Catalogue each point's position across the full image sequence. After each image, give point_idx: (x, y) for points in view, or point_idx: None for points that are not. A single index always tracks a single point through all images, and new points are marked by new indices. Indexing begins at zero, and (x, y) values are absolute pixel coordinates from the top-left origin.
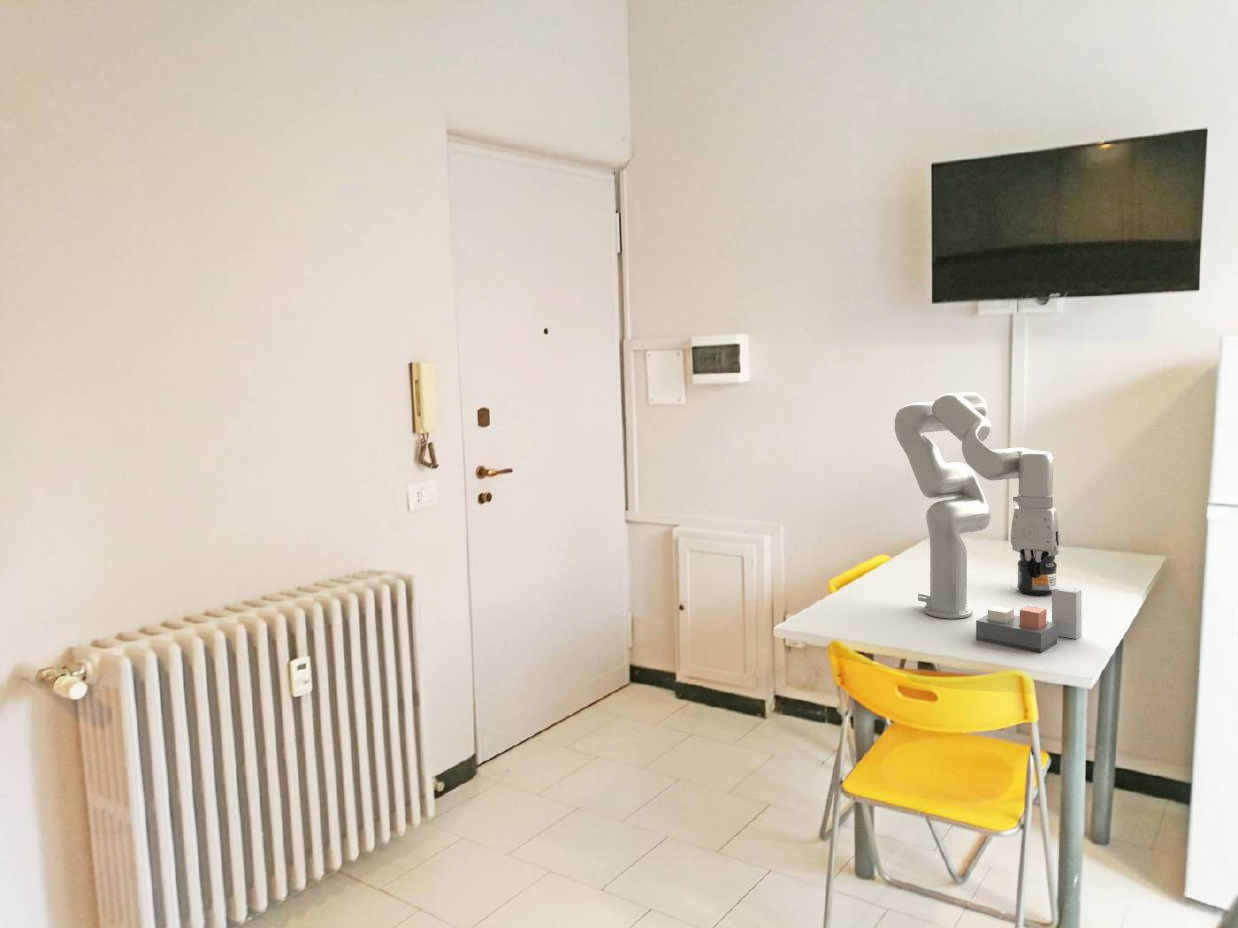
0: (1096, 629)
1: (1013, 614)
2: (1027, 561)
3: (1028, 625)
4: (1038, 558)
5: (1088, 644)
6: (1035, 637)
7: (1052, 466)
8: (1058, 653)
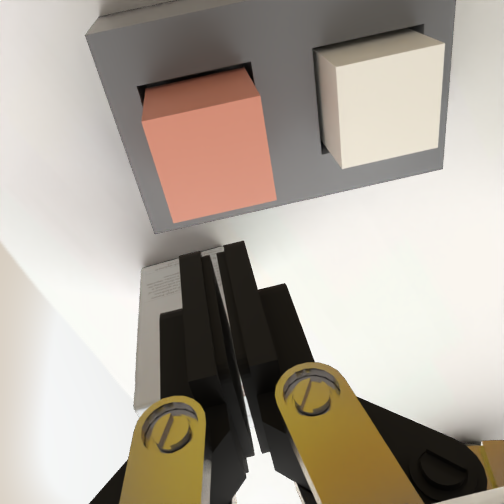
0: None
1: (332, 153)
2: None
3: (198, 82)
4: (171, 452)
5: (82, 257)
6: (119, 23)
7: None
8: (59, 83)
